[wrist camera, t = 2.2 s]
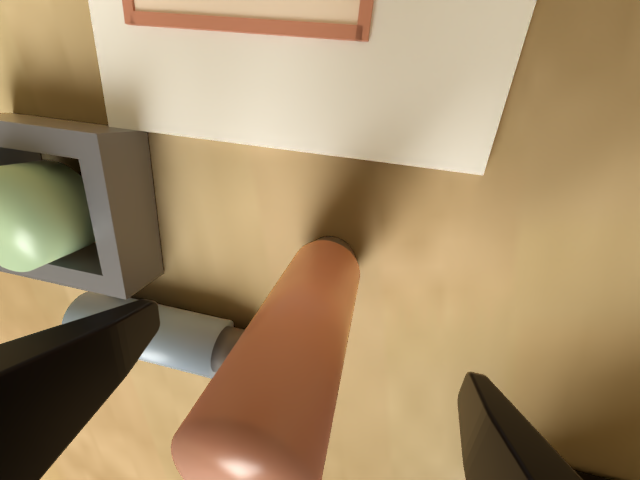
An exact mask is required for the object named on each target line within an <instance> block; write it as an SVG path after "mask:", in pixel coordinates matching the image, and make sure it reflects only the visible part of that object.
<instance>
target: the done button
mask: <svg viewBox="0 0 640 480" xmlns="http://www.w3.org/2000/svg"><path fill="white" fill-rule="evenodd" d="M94 242H95V236H94V232H93V227H92V222H91V217H90V212H89V208H88V203H87V198H86V193H85V188H84V184H83V179H82V177H81V176H80V175H79V174H78V173H77V172H76V171H74V170H73V169H71V168H70V167H68V166H67V165H65V164H63V163H60V162H57V161H53V160H40V161H33V162H25V163H18V164H10V165H2V166H0V266H1V267H3V268H6V269H8V270H12V271H16V272H28V271H31V270H34V269H36V268H38V267H41V266H43V265H45V264H48V263H50V262H52V261H55V260H57V259H59V258H61V257H64V256H66V255H68V254H71V253H73V252H75V251H77V250H80V249H82V248H84V247H87V246H89V245H91V244H93V243H94Z"/></svg>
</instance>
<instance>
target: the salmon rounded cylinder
mask: <svg viewBox="0 0 640 480" xmlns="http://www.w3.org/2000/svg"><path fill="white" fill-rule="evenodd" d="M359 278H360V270H359V266H358V263H357V261H356V259H355V255H354V252H353V250H352V248H351V247H350V246H349V245H348V244H347V243H346V242H345V241H343V240H341V239H339V238H337V237H331V236H326V237H321V238H319V239H317V240H315V241H313V242H310V243H308V244H306V245H304V246H303V247H302V248H301V249H300V250H299V251H298V252H297V253H296V255H295V256H294V258H293V259H292V261H291V262H290V264H289V265H288V267H287V268H286V270H285V271H284V273H283V274H282V276H281V277H280V279H279V280H278V282H277V283H276V285H275V286H274V288H273V289H272V291H271V292H270V294H269V295H268V297H267V298H266V299H265V301H264V302H263V304H262V305H261V307H260V308H259V310H258V311H257V313H256V314H255V316H254V317H253V319H252V320H251V322H250V323H249V325H248V326H247V328H246V329H245V331H244V332H243V334H242V335H241V337H240V338H239V340H238V341H237V343H236V344H235V346H234V347H233V348H232V350H231V351H230V353H229V354H228V356H227V357H226V359H225V360H224V362H223V363H222V365H221V366H220V368H219V369H218V371H217V372H216V374H215V375H214V377H213V378H212V380H211V381H210V383H209V384H208V386H207V387H206V389H205V390H204V392H203V393H202V395H201V396H200V397H199V399H198V400H197V402H196V403H195V405H194V406H193V408H192V409H191V411H190V412H189V414H188V415H187V417H186V418H185V420H184V421H183V423H182V424H181V426H180V427H179V429H178V430H177V432H176V433H175V435H174V437H173V439H172V444H171V453H172V458H173V461H174V464H175V466H176V468H177V470H178V472H179V473H180V475H181V476H182V478H183V479H184V480H322V475H323V469H324V464H325V459H326V454H327V448H328V443H329V438H330V432H331V427H332V422H333V416H334V411H335V406H336V401H337V395H338V390H339V385H340V379H341V374H342V369H343V363H344V358H345V353H346V347H347V342H348V337H349V332H350V326H351V321H352V316H353V310H354V305H355V300H356V294H357V289H358V284H359Z"/></svg>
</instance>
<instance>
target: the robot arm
mask: <svg viewBox="0 0 640 480" xmlns="http://www.w3.org/2000/svg"><path fill="white" fill-rule="evenodd" d="M159 327H160V317H159V309H158V304H157V303H156V302H155V301H152V300H148V299H140V300H137V301H134V302H131V303H128V304H124V305H121V306H118V307H115V308H112V309H109V310H106V311H102V312H99V313H96V314H93V315H90V316H87V317H84V318H81V319H77V320H74V321H71V322H68V323H65V324H62V325H59V326H56V327H52V328H49V329H46V330H43V331H40V332H37V333H34V334H31V335H27V336H24V337H21V338H18V339H15V340H12V341H9V342H5V343H2V344H0V480H40V479H41V477H42V476H43V475H44V474H45V473H46V471H47V470H48V469H49V468H50V467H51V466H52V464H53V463H54V462H55V461H56V460H57V458H58V457H59V456H60V455H61V454H62V452H63V451H64V450H65V449H66V448H67V446H68V445H69V444H70V443H71V442H72V440H73V439H74V438H75V437H76V436H77V435H78V433H79V432H80V431H81V430H82V429H83V427H84V426H85V425H86V424H87V423H88V421H89V420H90V419H91V418H92V417H93V415H94V414H95V413H96V412H97V411H98V410H99V408H100V407H101V406H102V405H103V404H104V402H105V401H106V400H107V399H108V398H109V396H110V395H111V394H112V393H113V392H114V390H115V389H116V388H117V387H118V386H119V384H120V383H121V382H122V381H123V380H124V378H125V377H126V376H127V374H128V373H129V372H130V370H131V369H132V368H133V366H134V365H135V363H136V362H137V361H138V359H139V358H140V356H141V355H142V353H143V352H144V350H145V349H146V348H147V346H148V345H149V343H150V342H151V340H152V339H153V338H154V336H155V335H156V333H157V332H158V330H159ZM458 412H459V423H460V435H461V446H462V456H463V465H464V471H465V477H466V480H609V479H605V478H601V477H597V476H593V475H589V474H585V473H582V472H578V471H574V470H573V469H572V468H571V467H570V465H569V464H568V463H567V462H566V461H565V460H564V459H563V458H562V457H561V456H560V455H559V454H558V453H557V452H556V450H555V449H554V448H553V447H552V446H551V445H550V444H549V443H548V442H547V441H546V440H545V439H544V438H543V436H542V435H541V434H540V433H539V432H538V431H537V430H536V429H535V428H534V427H533V426H532V425H531V424H530V422H529V421H528V420H527V419H526V418H525V417H524V416H523V415H522V414H521V413H520V412H519V411H518V410H517V409H516V407H515V406H514V405H513V404H512V403H511V402H510V401H509V400H508V399H507V398H506V397H505V396H504V395H503V393H502V392H501V391H500V390H499V389H498V388H497V387H496V386H495V385H494V384H493V383H492V382H491V381H490V380H489V378H488V377H486V376H485V375H483V374H479V373H474V372H468V373H467V374H466V376H465V378H464V381H463V384H462V386H461V389H460V391H459V394H458Z"/></svg>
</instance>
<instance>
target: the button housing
mask: <svg viewBox="0 0 640 480" xmlns="http://www.w3.org/2000/svg"><path fill="white" fill-rule="evenodd" d="M40 153H43V154H49V155H56V156H62V157H69V158H76V159H79V164H80V169H81V174H82V179H83V184H84V188H85V193H86V198H87V203H88V208H89V212H90V217H91V222H92V227H93V232H94V236H95V241H96V243H93V244H91V245H89V246H87V247H84V248H82V249H80V250H77V251H75V252H73V253H71V254H68V255H66V256H64V257H61V258H59V259H57V260H55V261H52V262H50V263H48V264H45V265H43V266H41V267H38V268H36V269H34V270H31V271H28V272H16V271H12V270H8V269H6V268H3V267H1V266H0V271H1V272H6V273H10V274H15V275H19V276H24V277H28V278H32V279H37V280H41V281H46V282H50V283H55V284H59V285H63V286H68V287H72V288H77V289H81V290H86V291H90V292H94V293H99V294H103V295H108V296H112V297H117V298H121V299H125V300H127V299H128V298H130V297H131V296H132V295H134V294H135V293H137V292H138V291H139V290H141V289H142V288H144V287H145V286H147V285H148V284H149V283H151V282H152V281H154V280H155V279H157V278H158V277H159V276H161V275H162V274H164V270H163V262H162V253H161V245H160V236H159V228H158V219H157V211H156V202H155V194H154V185H153V177H152V168H151V160H150V151H149V143H148V134H147V132H145V131H138V130H130V129H122V128H114V127H109V125H102V124H94V123H86V122H78V121H71V120H63V119H55V118H47V117H40V116H32V115H24V114H16V113H0V166H2V165H10V164H18V163H25V162H33V161H40V160H41V156H40Z"/></svg>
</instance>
